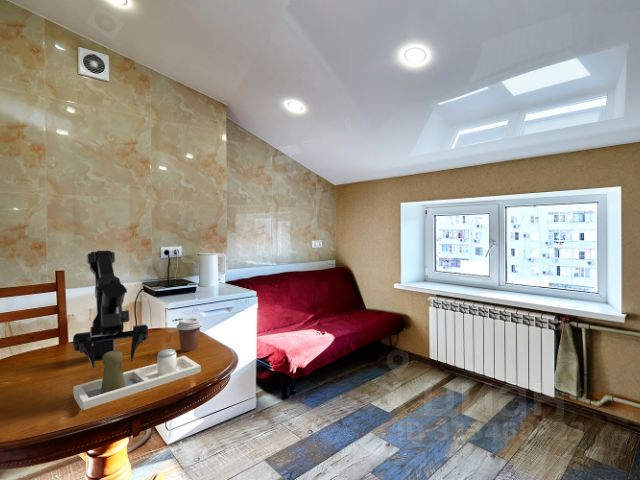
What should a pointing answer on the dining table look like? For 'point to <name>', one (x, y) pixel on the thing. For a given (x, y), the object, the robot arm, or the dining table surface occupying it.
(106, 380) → the olive pepper shaker
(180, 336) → the coffee cup
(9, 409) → the dining table surface
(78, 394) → the condiment rail
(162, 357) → the salt shaker
